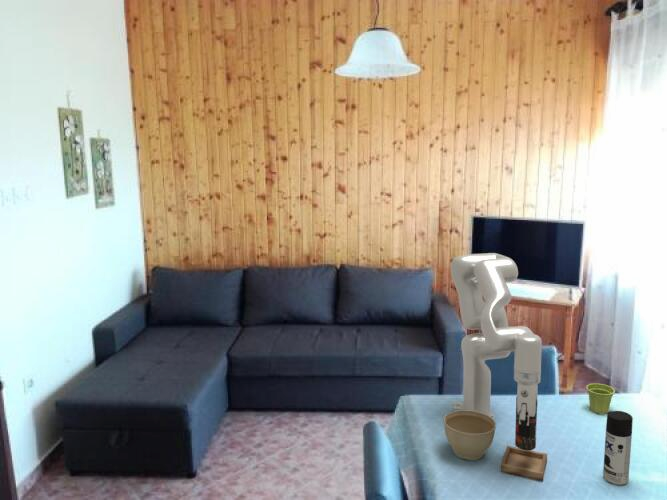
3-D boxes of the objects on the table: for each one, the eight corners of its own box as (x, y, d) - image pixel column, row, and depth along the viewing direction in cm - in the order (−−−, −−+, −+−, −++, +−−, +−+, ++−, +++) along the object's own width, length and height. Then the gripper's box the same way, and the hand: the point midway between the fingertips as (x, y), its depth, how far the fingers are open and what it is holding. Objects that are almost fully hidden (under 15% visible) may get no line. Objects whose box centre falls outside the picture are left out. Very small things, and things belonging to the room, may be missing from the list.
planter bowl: (494, 470, 165) (495, 436, 163) (441, 462, 169) (441, 430, 167) (495, 443, 180) (496, 412, 178) (446, 437, 184) (446, 407, 183)
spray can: (598, 473, 161) (601, 410, 158) (619, 471, 162) (624, 409, 159) (611, 486, 155) (615, 421, 151) (633, 484, 155) (638, 419, 152)
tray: (500, 471, 163) (500, 464, 163) (507, 452, 174) (507, 445, 174) (542, 481, 158) (543, 474, 158) (546, 460, 169) (547, 453, 168)
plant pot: (619, 414, 197) (620, 392, 195) (597, 418, 195) (598, 395, 193) (601, 403, 206) (602, 382, 204) (579, 406, 204) (580, 385, 202)
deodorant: (537, 451, 161) (538, 403, 159) (516, 449, 162) (517, 402, 160) (534, 441, 167) (535, 395, 164) (513, 439, 168) (515, 394, 166)
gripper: (537, 388, 152) (535, 447, 155) (543, 366, 167) (541, 421, 170) (509, 384, 155) (507, 442, 158) (518, 363, 170) (516, 417, 173)
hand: (525, 431), depth 164 cm, fingers closed on deodorant, 5 cm apart
